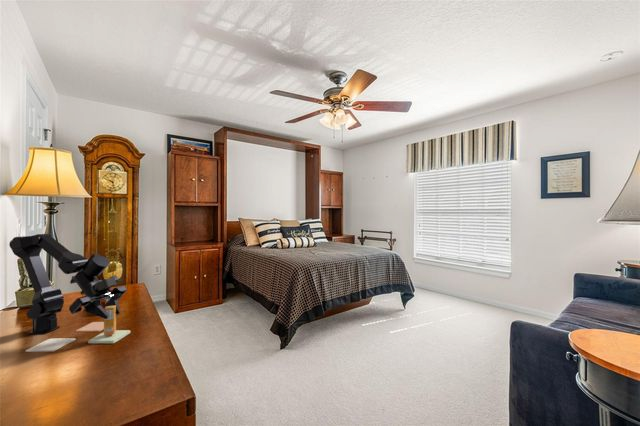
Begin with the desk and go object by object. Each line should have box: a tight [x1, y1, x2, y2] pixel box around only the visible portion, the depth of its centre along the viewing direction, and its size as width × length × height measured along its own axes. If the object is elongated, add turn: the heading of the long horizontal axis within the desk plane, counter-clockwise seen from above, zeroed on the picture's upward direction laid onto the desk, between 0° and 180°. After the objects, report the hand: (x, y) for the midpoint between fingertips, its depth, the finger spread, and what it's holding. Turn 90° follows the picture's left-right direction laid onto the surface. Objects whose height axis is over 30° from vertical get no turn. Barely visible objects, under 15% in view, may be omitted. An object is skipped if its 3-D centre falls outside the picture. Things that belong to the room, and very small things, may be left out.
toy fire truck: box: [100, 287, 120, 309], centre depth 135 cm, size 7×12×10 cm, turn 38°
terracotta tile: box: [75, 321, 104, 333], centre depth 115 cm, size 9×9×1 cm
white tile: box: [25, 337, 76, 353], centre depth 99 cm, size 9×9×1 cm
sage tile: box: [87, 329, 131, 344], centre depth 105 cm, size 9×9×1 cm
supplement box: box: [103, 305, 117, 336], centre depth 105 cm, size 3×3×10 cm
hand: (113, 315), depth 105 cm, fingers closed on supplement box, 4 cm apart
